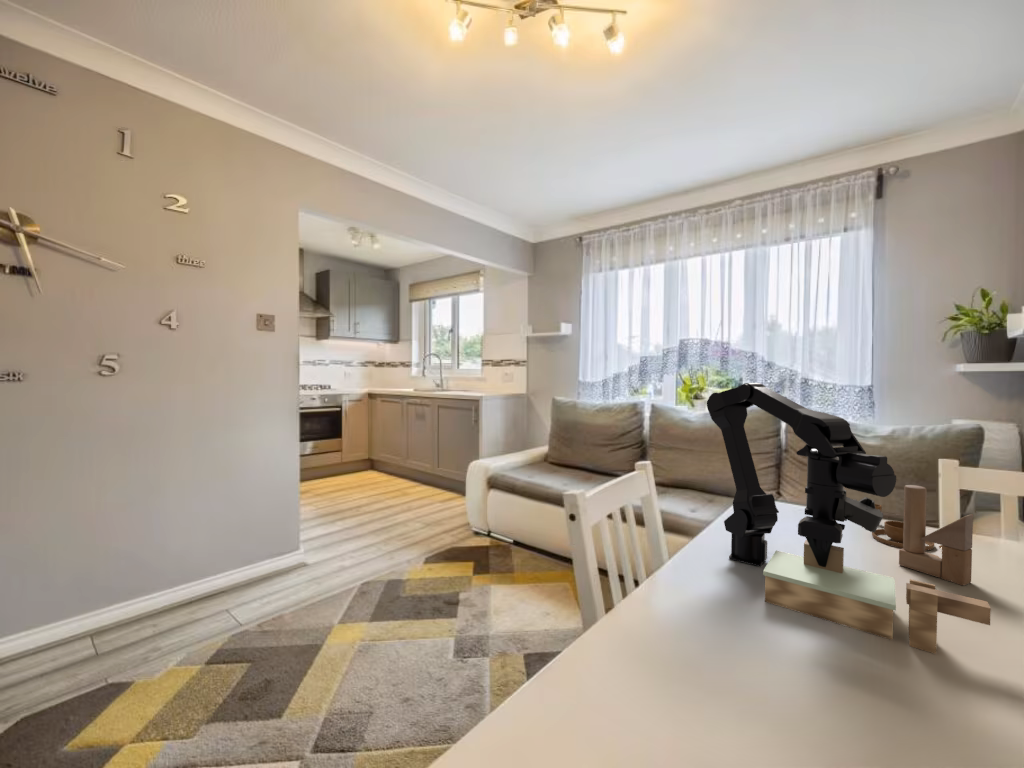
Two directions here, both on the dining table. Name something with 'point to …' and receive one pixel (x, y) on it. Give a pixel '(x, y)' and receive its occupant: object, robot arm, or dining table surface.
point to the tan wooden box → (861, 610)
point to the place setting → (895, 533)
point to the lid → (833, 576)
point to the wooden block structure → (935, 541)
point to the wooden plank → (956, 605)
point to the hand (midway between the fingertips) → (823, 563)
